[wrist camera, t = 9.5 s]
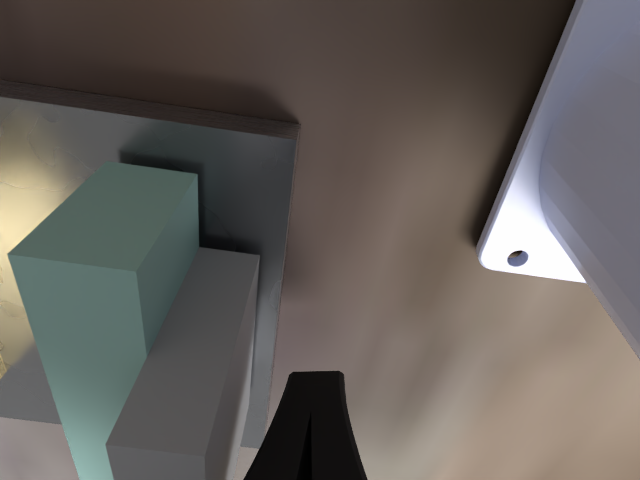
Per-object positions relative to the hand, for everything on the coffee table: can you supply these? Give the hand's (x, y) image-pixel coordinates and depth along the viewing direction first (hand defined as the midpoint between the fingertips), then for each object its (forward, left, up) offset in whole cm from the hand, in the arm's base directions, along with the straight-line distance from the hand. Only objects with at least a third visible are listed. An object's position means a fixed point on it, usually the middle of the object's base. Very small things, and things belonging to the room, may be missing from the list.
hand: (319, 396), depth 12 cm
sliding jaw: (+4, 0, -2) cm, 4 cm away
